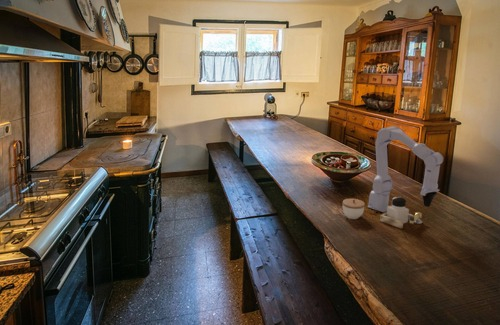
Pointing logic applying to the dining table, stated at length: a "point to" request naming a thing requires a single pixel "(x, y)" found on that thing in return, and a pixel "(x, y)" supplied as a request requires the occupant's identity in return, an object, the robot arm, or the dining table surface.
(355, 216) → the lidded jar
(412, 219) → the brass drawer handle
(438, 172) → the robot arm
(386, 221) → the cradle
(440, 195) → the dining table surface
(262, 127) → the dining table surface
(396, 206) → the medicine bottle
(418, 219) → the pivot post
